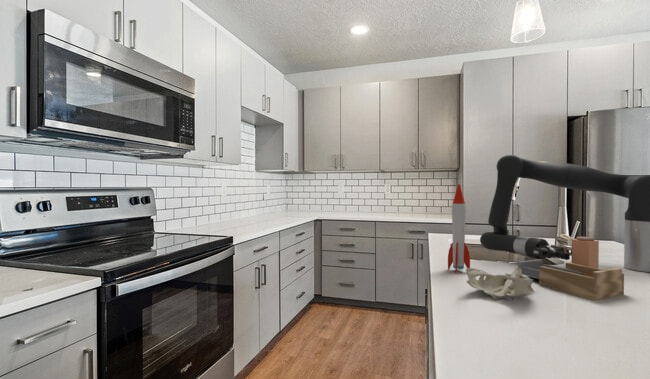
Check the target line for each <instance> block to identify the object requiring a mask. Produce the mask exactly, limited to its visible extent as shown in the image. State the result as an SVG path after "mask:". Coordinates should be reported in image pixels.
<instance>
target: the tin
mask: <svg viewBox="0 0 650 379" xmlns="http://www.w3.org/2000/svg"><path fill="white" fill-rule="evenodd" d="M599 243H600V240H596V239H595V237H589V236H576V238H574V239H573V238H572V239H571V247H572V256H571V263H573V264H578V265H583V266H587V267H592V268H597V269H599V261H600V260H599V258H600V257H599V252H600V251H599V250H600V247H599V246H600V245H599Z"/></svg>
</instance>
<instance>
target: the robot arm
mask: <svg viewBox="0 0 650 379" xmlns="http://www.w3.org/2000/svg"><path fill="white" fill-rule="evenodd" d="M496 170H497V171H496V172H497V176H496V177H497V180H496V182H497V183H496V188H495V192H494V195H493V198H492V202H491V207H490V210H489V216H488V221H487V222H488V225H489V226H491V227H493V231H488V232H487V231H486V232H484V233H483V234H481V236H480V237H479V241H480V244H481V246H482V247H483V248H484V249H487V250H490V251H491V250H492V251H500V252H508V253H511V254H515V255H519V256H521V257H524V258H525V257H526V258H530V259H534V260H537V259H541V260H543V261H544V260H545V259H561V260H566V261H569V260H570V259H571V258H570V257H572V246H564V245H556V244H549V242H548V241H547V240H546V239H545V238H537V237H533V236H525V235H524V236H523V235H522V236H521V235H515V234H508V220H509V217H510V213H511V212H510V211H511V205H512V199H513V193H514V189H515V186H516V185H517V184H516V183H517V181H518V178H519V179H527V180H534V181H538V182H541V183H544V184H548V185H552V186H555V187H560V188H564V189H571V190H575V191H577V190H578V191H584V192H585V191H586V192H599V193H604V194H605V193H607V194H610V195H614V196H619V197H621V198H625V199H628V203H627V204H628V206H627V209H626V210H625V212H624V239H623V240H624V242H623V244H624V246H623V252H624V253H623V267H624V268H625V269H628V270H632V271H637V272H644V273H645V272H646V273H650V174H641V175H640V174H639V175H638V174H637V175H634V174H633V175H631V174H629V175H628V174H618V173H617V174H616V173H610V172H609V173H608V172H605V171H602V170H599V169H595V168H592V167H589V166H584V165H579V164H573V163H565V162H555V161H554V162H553V161H551V162H550V161H548V162H547V161H535V160H530V159H526V158H521V157H519V156H517V155H515V154H505V155H503V156H502V157H500V158H499V159H498V161H497V162H496Z"/></svg>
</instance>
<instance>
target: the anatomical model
mask: <svg viewBox="0 0 650 379" xmlns="http://www.w3.org/2000/svg"><path fill="white" fill-rule="evenodd" d="M465 271H466V275H467V278H468V280H466V284H468V285H469V286H470V287H471V288H473V289H477V290H480V291H482V292H484V293H485V294H486V295H488V296H491V297H492V298H493V300H498V299H507V300H510V301H511V300H515V299H522V298H524V297H527V296H529V295H530V294H531V293H534V289H533V287H532V284H533V281H534V279H532V278H531V277H530V276H525V275H523V274H522V270H521V268H518V266H515V268H514V270H512V273H507V272H506V273H504V274H501V273H497V274H492V273H488V272H486V271H484V270H483V269H478V268H474V267H473V268H471V267H470V268H467V267H466V270H465ZM476 277H479V278H478V279H477V278H476Z"/></svg>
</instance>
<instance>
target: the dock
mask: <svg viewBox="0 0 650 379" xmlns="http://www.w3.org/2000/svg"><path fill="white" fill-rule="evenodd" d="M565 269H569V270H573V271H578V272H582V275H579V274H575V273H570V272H566V271H562V270H557V269H553V268H549V267H544V266H539V279H538V282H539V283H538V284H539V286H543V287H546V288H549V287H550V289H553V290H557V291H561V292H564V293H566V294H567V293H568V294H570V295H573V296H578V297H582V298H584V299H588V300H593V301H597V300H601V299H602V300H603V299H607V298H611V297H617V296H623V295H624V294H625V274H624V273H623V268H620V267H613V268H609V269H601V268H598V269H597V268H592V267H587V266H583V265H578V264H573V263H572V262H565Z"/></svg>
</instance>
